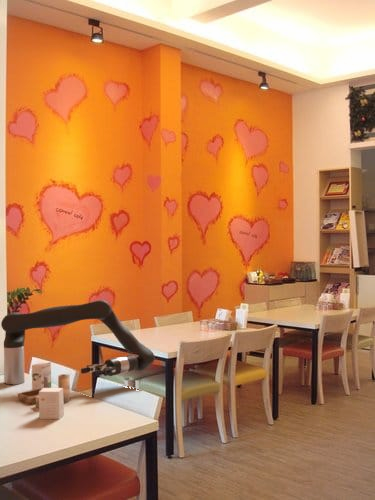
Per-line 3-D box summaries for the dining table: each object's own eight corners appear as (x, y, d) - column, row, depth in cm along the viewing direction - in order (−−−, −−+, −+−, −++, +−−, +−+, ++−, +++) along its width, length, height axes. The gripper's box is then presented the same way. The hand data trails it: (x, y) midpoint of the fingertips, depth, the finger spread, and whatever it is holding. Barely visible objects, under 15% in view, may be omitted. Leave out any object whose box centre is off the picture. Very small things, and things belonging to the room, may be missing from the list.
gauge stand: (35, 406, 229) (35, 376, 229) (49, 403, 233) (48, 374, 233) (43, 409, 225) (43, 379, 225) (56, 406, 229) (56, 376, 229)
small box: (64, 414, 217) (63, 387, 217) (59, 419, 212) (59, 391, 211) (44, 414, 218) (43, 387, 218) (38, 419, 212) (38, 391, 212)
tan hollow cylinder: (56, 401, 236) (56, 375, 236) (65, 399, 239) (65, 373, 239) (62, 403, 233) (62, 376, 233) (71, 401, 236) (71, 374, 236)
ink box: (42, 386, 261) (42, 360, 261) (51, 386, 260) (51, 361, 260) (31, 390, 253) (31, 364, 253) (40, 391, 252) (40, 365, 251)
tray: (17, 399, 239) (17, 393, 239) (41, 394, 247) (41, 388, 247) (31, 404, 231) (31, 398, 231) (55, 399, 239) (55, 393, 239)
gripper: (107, 355, 260) (77, 361, 249) (126, 359, 250) (96, 366, 239) (107, 372, 260) (77, 378, 249) (127, 376, 250) (96, 383, 239)
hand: (87, 372), depth 244 cm, fingers open, 8 cm apart
